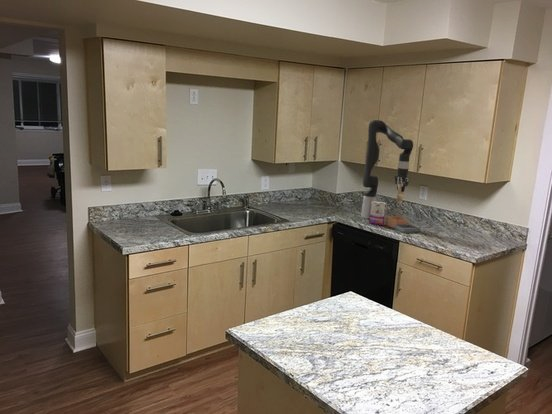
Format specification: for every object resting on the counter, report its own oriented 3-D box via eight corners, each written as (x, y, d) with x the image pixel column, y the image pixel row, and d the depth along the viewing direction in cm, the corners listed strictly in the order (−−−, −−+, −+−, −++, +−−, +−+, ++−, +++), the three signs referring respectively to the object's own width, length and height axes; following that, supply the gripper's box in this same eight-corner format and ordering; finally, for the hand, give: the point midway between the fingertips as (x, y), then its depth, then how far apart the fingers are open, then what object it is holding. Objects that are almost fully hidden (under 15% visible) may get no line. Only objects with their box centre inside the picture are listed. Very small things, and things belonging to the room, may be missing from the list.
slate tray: (393, 229, 325) (393, 225, 325) (409, 228, 331) (409, 224, 330) (403, 233, 316) (403, 228, 315) (419, 232, 321) (419, 227, 320)
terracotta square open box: (386, 225, 336) (387, 216, 334) (397, 224, 340) (398, 216, 338) (395, 228, 327) (396, 219, 325) (406, 228, 331) (407, 219, 329)
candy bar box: (385, 224, 338) (387, 202, 334) (383, 225, 333) (386, 203, 330) (370, 222, 343) (372, 200, 339) (368, 223, 338) (370, 201, 335)
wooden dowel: (395, 202, 331) (397, 183, 328) (399, 202, 332) (401, 183, 329) (398, 203, 327) (400, 184, 324) (403, 203, 329) (405, 184, 326)
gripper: (392, 166, 329) (390, 189, 333) (405, 168, 316) (402, 193, 320) (401, 166, 332) (398, 189, 336) (414, 168, 319) (411, 193, 323)
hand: (400, 191), depth 328 cm, fingers closed on wooden dowel, 4 cm apart
